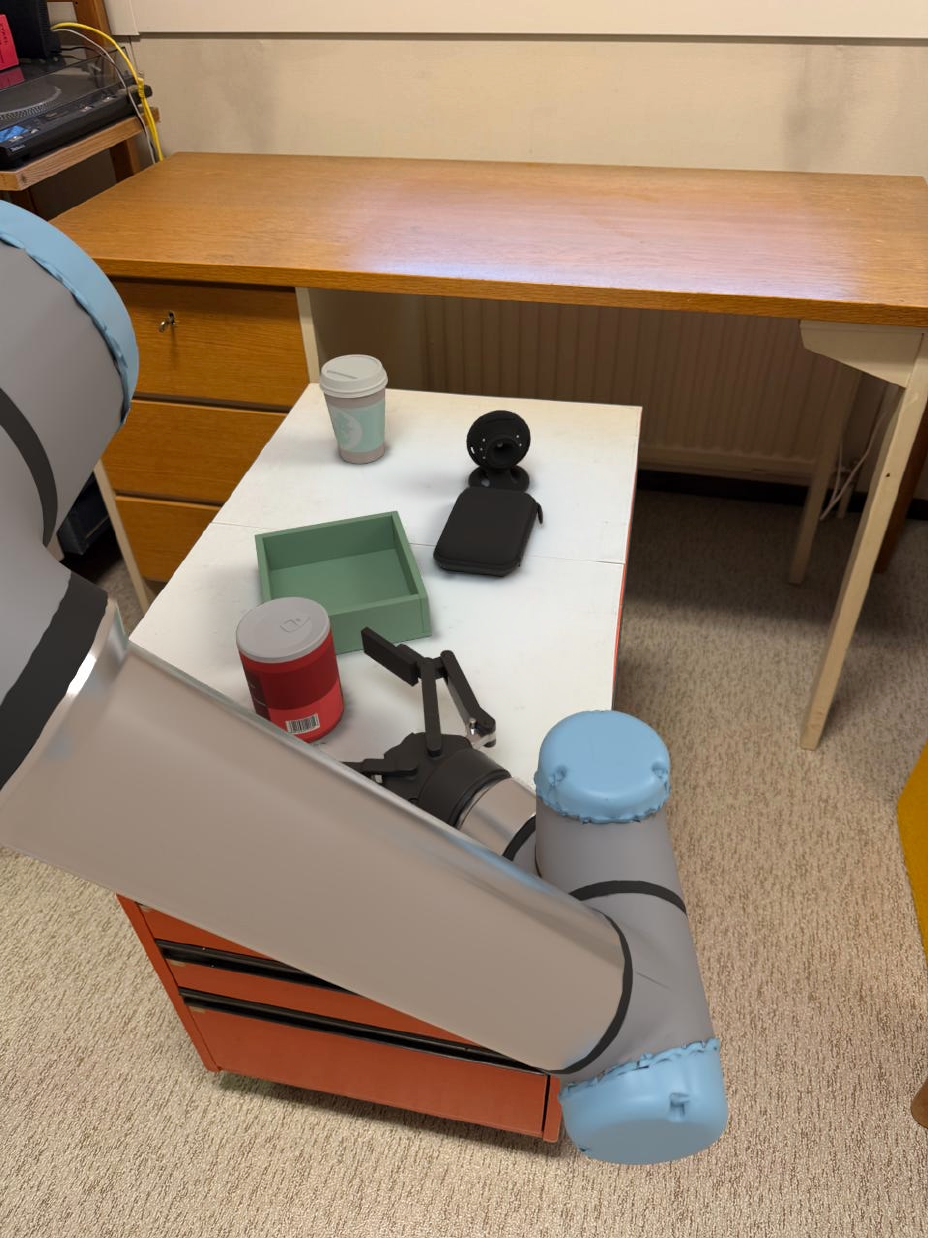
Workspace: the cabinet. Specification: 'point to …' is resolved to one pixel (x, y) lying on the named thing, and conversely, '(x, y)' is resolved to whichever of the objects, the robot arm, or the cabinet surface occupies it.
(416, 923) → the robot arm
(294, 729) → the canned food
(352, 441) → the coffee cup
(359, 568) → the tote
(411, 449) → the cabinet surface
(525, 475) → the webcam
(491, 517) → the carrying case
